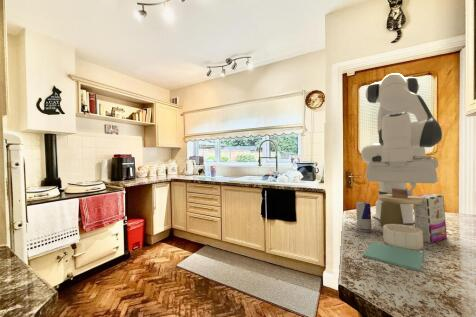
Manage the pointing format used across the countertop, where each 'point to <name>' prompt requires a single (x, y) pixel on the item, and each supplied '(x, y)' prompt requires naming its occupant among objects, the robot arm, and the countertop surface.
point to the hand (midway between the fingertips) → (399, 194)
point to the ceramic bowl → (403, 236)
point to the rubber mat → (395, 255)
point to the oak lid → (401, 197)
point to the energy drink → (363, 216)
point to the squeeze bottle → (390, 214)
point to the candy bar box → (431, 218)
